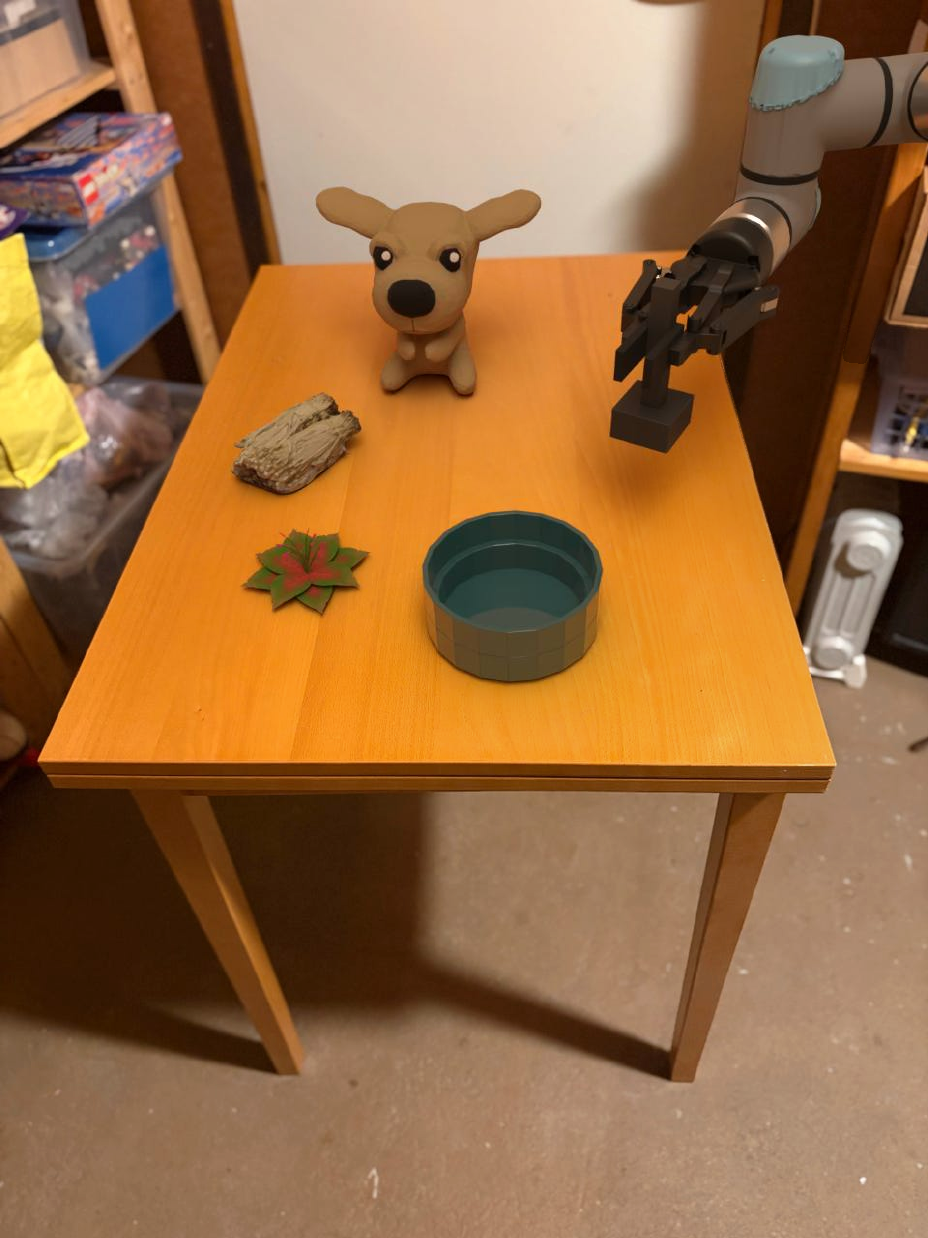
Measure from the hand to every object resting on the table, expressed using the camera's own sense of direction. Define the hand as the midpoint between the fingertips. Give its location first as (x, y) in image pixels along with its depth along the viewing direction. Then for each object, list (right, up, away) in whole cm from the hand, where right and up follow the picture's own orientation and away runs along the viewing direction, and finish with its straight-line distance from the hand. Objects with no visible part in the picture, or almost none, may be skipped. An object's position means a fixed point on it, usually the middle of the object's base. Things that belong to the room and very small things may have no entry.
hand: (632, 370), depth 75 cm
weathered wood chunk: (-31, -3, +26) cm, 41 cm away
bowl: (-9, -20, +7) cm, 24 cm away
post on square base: (+3, -3, +10) cm, 11 cm away
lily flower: (-28, -16, +13) cm, 35 cm away
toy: (-17, +10, +37) cm, 42 cm away
